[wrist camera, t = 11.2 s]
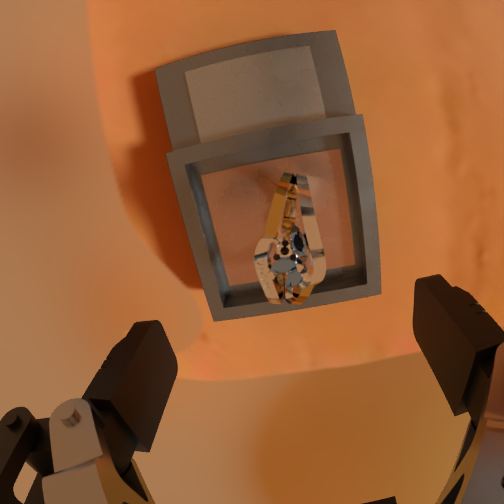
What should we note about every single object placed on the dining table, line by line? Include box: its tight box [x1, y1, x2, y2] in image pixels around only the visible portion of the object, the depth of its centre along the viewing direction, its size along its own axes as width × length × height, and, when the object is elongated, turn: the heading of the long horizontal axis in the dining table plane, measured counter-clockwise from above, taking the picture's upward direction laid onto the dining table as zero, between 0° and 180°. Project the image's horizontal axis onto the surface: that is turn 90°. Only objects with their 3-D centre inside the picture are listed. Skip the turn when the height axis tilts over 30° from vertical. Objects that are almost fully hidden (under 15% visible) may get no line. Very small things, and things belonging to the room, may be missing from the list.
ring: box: [254, 172, 326, 305], centre depth 17 cm, size 7×3×8 cm, turn 172°
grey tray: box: [155, 30, 381, 322], centre depth 20 cm, size 18×12×4 cm, turn 12°
